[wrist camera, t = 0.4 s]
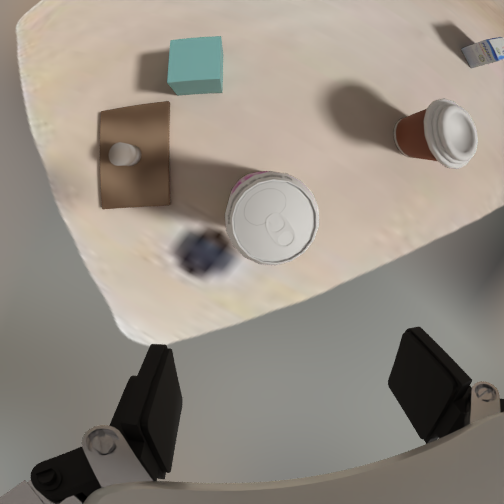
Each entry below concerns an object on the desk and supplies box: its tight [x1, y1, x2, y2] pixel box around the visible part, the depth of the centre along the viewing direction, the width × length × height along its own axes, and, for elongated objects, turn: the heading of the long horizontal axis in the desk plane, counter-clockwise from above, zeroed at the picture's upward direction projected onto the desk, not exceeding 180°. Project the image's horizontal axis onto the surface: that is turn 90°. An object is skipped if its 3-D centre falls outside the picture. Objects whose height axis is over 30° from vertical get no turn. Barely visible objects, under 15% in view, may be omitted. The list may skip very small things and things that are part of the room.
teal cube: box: [167, 36, 223, 95], centre depth 29 cm, size 6×6×6 cm
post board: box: [100, 101, 170, 209], centre depth 31 cm, size 14×10×6 cm
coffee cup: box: [394, 98, 478, 169], centre depth 29 cm, size 9×9×12 cm
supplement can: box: [225, 171, 319, 265], centre depth 30 cm, size 8×8×15 cm
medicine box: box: [461, 37, 504, 68], centre depth 26 cm, size 8×4×9 cm, turn 121°
